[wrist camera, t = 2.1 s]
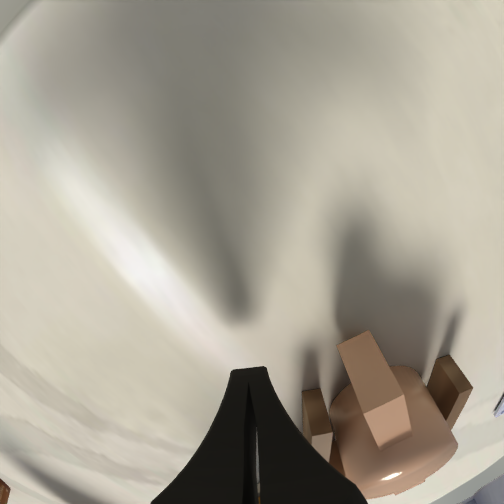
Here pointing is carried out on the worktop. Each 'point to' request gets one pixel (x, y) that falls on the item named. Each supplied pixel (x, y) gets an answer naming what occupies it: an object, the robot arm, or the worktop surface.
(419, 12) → the worktop surface
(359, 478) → the cylinder with bar handle
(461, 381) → the cradle
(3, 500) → the food container
